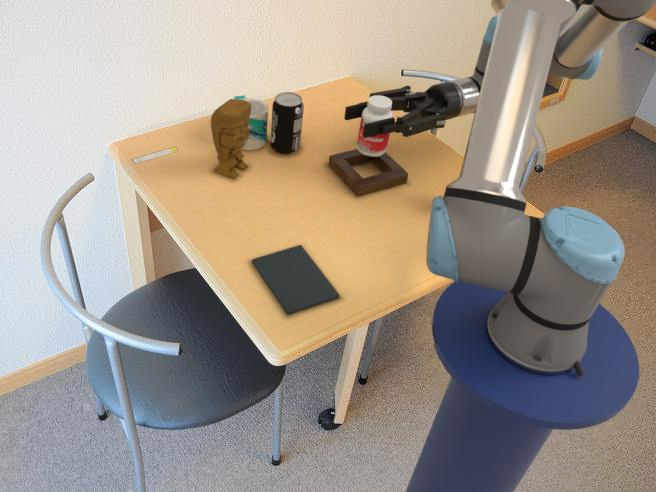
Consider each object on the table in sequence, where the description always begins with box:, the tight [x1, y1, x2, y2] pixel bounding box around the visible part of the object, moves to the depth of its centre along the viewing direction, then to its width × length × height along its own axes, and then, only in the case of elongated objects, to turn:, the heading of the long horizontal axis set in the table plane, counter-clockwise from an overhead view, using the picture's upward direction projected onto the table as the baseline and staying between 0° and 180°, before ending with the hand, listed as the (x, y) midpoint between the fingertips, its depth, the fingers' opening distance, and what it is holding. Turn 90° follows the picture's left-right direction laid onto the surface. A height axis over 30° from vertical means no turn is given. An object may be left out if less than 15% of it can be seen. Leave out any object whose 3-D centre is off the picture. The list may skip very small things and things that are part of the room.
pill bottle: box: [356, 95, 394, 157], centre depth 131 cm, size 6×6×11 cm
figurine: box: [210, 98, 251, 180], centre depth 134 cm, size 7×7×15 cm
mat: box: [251, 244, 340, 316], centre depth 115 cm, size 14×10×1 cm
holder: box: [327, 148, 409, 197], centre depth 138 cm, size 12×12×2 cm
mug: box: [233, 94, 269, 151], centre depth 145 cm, size 8×12×8 cm
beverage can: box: [269, 91, 305, 155], centre depth 141 cm, size 7×7×12 cm
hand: (355, 122), depth 128 cm, fingers closed on pill bottle, 6 cm apart
